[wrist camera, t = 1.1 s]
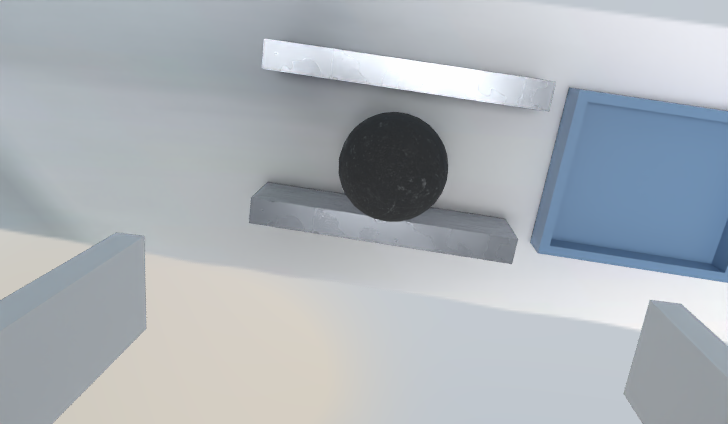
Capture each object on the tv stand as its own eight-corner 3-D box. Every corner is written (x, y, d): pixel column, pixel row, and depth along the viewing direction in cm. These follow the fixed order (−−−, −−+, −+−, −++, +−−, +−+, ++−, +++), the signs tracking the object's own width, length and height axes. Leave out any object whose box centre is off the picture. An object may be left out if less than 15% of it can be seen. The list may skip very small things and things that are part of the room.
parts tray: (530, 242, 35) (537, 253, 33) (569, 87, 32) (579, 89, 30) (713, 270, 35) (731, 283, 33) (769, 117, 32) (793, 121, 30)
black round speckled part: (439, 100, 33) (456, 119, 23) (436, 187, 34) (450, 238, 25) (350, 100, 33) (330, 118, 24) (351, 186, 35) (332, 236, 25)
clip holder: (265, 204, 35) (249, 222, 32) (280, 40, 32) (263, 38, 29) (499, 241, 35) (512, 263, 31) (537, 78, 32) (556, 81, 28)
